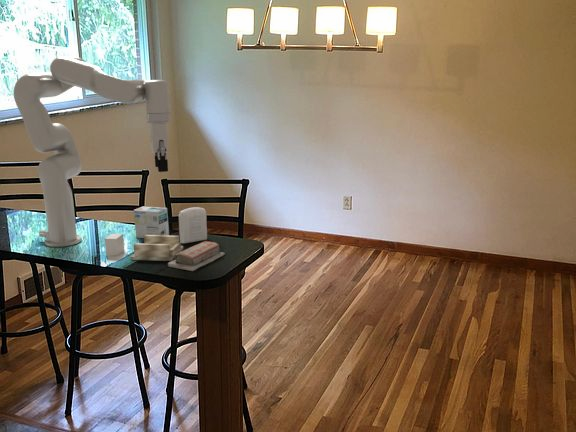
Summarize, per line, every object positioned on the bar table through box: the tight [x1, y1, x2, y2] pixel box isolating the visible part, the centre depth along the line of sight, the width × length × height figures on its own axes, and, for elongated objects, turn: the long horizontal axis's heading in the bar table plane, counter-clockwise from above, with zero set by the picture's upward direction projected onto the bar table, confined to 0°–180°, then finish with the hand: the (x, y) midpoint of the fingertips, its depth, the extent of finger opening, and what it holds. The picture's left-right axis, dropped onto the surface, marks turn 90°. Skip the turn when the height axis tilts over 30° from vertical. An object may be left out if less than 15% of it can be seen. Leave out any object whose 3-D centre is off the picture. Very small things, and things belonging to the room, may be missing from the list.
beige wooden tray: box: [130, 234, 184, 262], centre depth 202 cm, size 14×13×5 cm
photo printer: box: [178, 206, 208, 244], centre depth 215 cm, size 10×4×12 cm, turn 123°
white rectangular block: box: [104, 233, 125, 257], centre depth 204 cm, size 4×6×6 cm, turn 173°
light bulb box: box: [133, 205, 170, 239], centre depth 221 cm, size 11×7×11 cm, turn 71°
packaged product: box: [167, 240, 226, 272], centre depth 195 cm, size 18×5×10 cm
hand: (161, 169), depth 202 cm, fingers open, 9 cm apart
